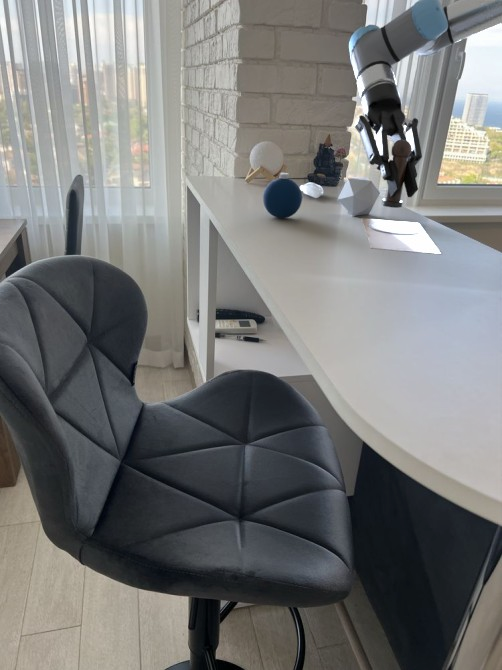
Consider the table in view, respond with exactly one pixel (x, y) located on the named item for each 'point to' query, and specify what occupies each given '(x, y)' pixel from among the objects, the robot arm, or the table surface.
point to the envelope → (398, 236)
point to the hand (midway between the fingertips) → (404, 192)
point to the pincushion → (312, 189)
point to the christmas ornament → (282, 197)
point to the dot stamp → (398, 171)
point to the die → (358, 196)
